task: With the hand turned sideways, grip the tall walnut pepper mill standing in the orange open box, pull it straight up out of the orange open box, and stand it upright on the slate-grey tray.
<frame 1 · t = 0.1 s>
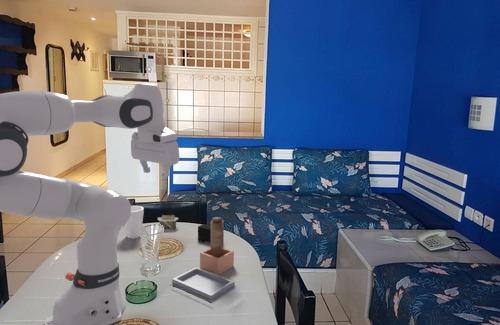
hand: (156, 174, 131), 39 cm above the table, tool pointing down, fingers open, 8 cm apart
digital camera: (210, 242, 175), on the table
foam cup: (133, 236, 180), on the table
orange open box: (216, 269, 149), on the table
tray: (203, 286, 135), on the table
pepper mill: (216, 266, 149), point 1 cm above the table, touching orange open box
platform: (167, 229, 192), on the table
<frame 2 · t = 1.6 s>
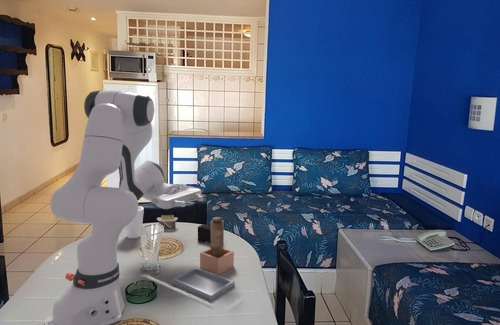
hand: (193, 201, 151), 24 cm above the table, tool horizontal, fingers open, 8 cm apart
nothing on the table moved.
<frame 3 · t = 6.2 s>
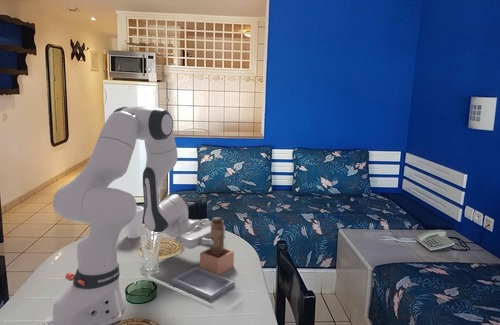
hand: (218, 240, 146), 12 cm above the table, tool horizontal, fingers closed on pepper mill, 5 cm apart
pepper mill: (216, 266, 149), point 1 cm above the table, touching orange open box, gripper
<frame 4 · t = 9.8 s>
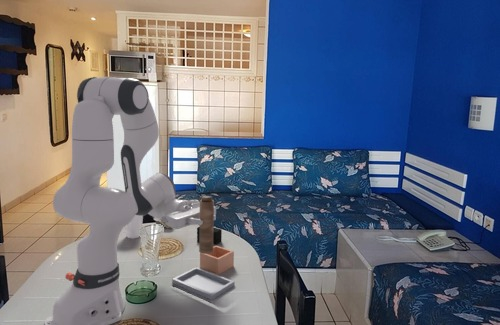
hand: (208, 220, 133), 23 cm above the table, tool horizontal, fingers closed on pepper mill, 5 cm apart
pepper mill: (206, 250, 136), point 12 cm above the table, touching gripper
when the fingers open (13 cm above the table, at t = 13.5 s): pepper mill stays where it is, resting on tray.
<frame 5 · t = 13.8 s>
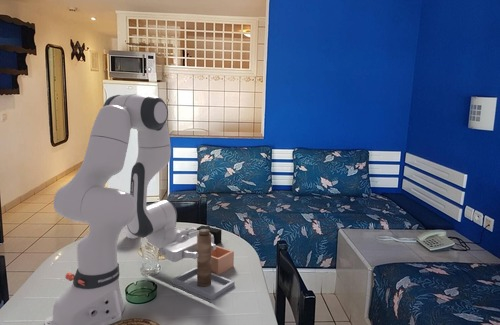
hand: (206, 251, 133), 13 cm above the table, tool horizontal, fingers open, 8 cm apart
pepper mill: (204, 283, 136), point 1 cm above the table, touching tray
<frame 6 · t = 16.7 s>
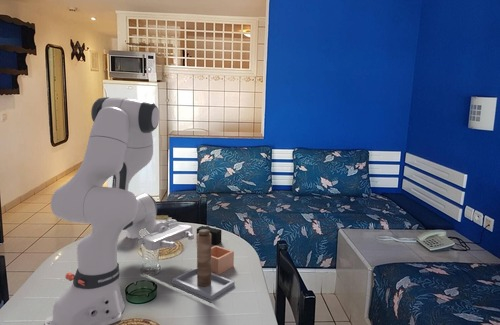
hand: (183, 241, 141), 13 cm above the table, tool horizontal, fingers open, 8 cm apart
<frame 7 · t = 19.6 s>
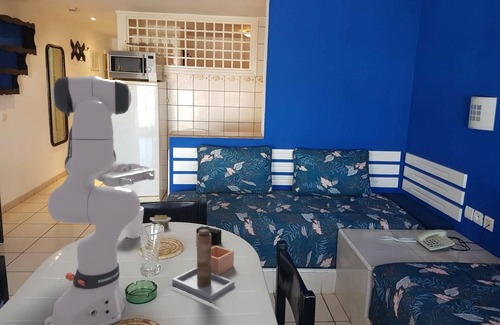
hand: (142, 179, 144), 34 cm above the table, tool horizontal, fingers open, 8 cm apart
at the end: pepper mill inside the target area on the tray (0.5 cm from its centre), point 1.0 cm above the tray's base; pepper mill tilted 0°; the gripper is holding nothing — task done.
